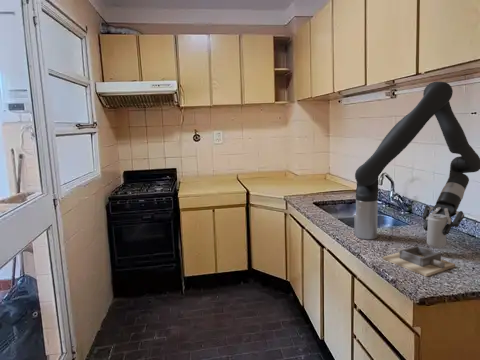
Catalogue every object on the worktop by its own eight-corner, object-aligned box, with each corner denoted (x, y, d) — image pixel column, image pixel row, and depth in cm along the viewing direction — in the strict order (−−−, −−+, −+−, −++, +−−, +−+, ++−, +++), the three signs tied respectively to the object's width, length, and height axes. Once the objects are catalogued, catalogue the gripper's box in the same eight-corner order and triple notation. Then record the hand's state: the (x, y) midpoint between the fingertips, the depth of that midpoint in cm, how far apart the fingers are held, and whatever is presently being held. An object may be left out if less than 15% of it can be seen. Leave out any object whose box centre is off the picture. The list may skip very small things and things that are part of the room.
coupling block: (383, 259, 133) (383, 249, 132) (410, 251, 139) (411, 241, 139) (426, 276, 117) (426, 265, 116) (455, 266, 123) (455, 256, 123)
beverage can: (424, 245, 135) (425, 215, 133) (429, 241, 140) (431, 212, 138) (442, 249, 131) (444, 218, 129) (447, 244, 135) (449, 214, 133)
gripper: (429, 188, 142) (412, 222, 137) (468, 193, 130) (451, 231, 125) (435, 199, 146) (419, 232, 141) (473, 205, 134) (457, 241, 129)
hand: (434, 231), depth 133 cm, fingers closed on beverage can, 6 cm apart
